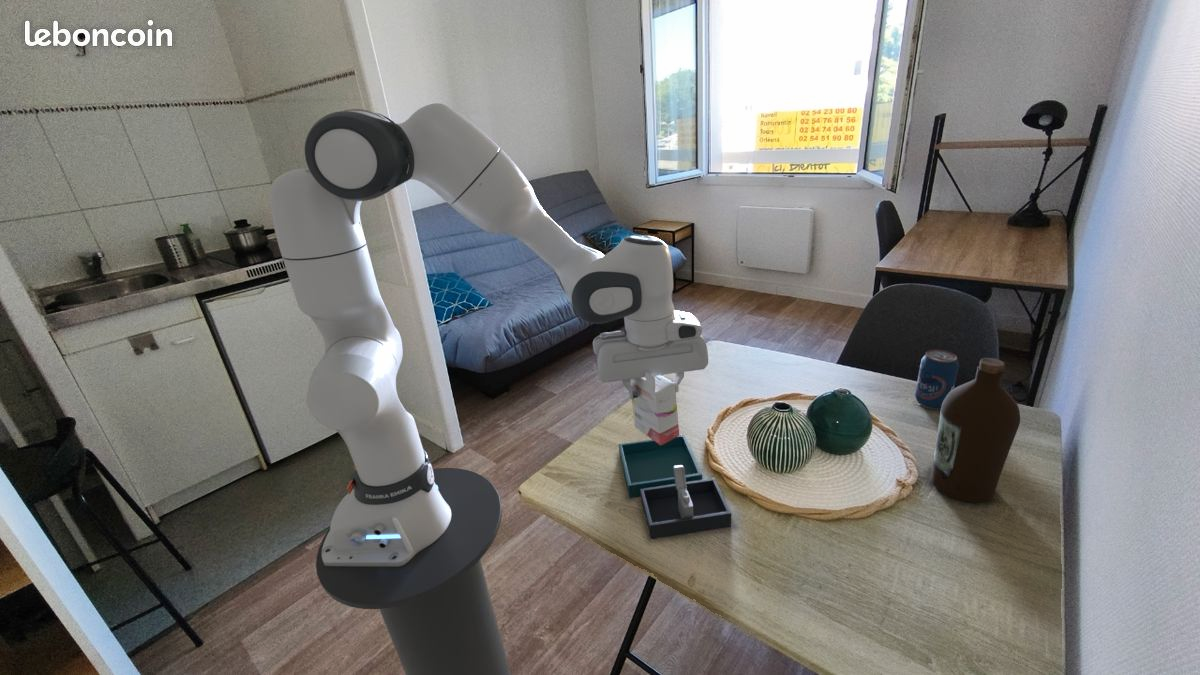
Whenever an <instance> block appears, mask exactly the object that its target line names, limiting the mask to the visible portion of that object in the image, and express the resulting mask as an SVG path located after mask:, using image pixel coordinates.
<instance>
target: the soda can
mask: <svg viewBox="0 0 1200 675" xmlns="http://www.w3.org/2000/svg"><path fill="white" fill-rule="evenodd" d="M959 368H960V363H959V361H958V356H957V355H956V354H955V353H953V352H950V351H948V350H945V349H930V350H927V351H926V352H925V354H924V355H923V357H922V358H921V360H920V365H919V370H918V375H917V379H916V380H917V381H916V386H915V392H914V397H915V399H916V401H917V403H918V404H919V405H920V406H921V407H923V408H927V409H930V410H941V406H942V403H943V401H944V399H945V398H946V396H947V395H948V393H949V392H950V391H952V390H953V389H954V388H955V386H956V380H957V377H958V372H959Z"/></svg>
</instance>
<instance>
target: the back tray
mask: <svg viewBox="0 0 1200 675" xmlns="http://www.w3.org/2000/svg"><path fill="white" fill-rule="evenodd" d="M618 453H619V459H620V463H621V468H622V472H623V477H624V481H625V485H626V486H625V487H626V490H627V495H628V498H629V499H636V498H641V496H640V489H644V488H651V487H658V486H665V485H671V484H675V478H674V470H673V467H674V466H678V465H682V466H683V467H684V470H685V478H686V482H692V481H698V480H703V473H702V471H701V469H700V466H699V465H698V462H697V459H696V458H695V454H694V453H693V451H692V449H691V447H690V444H689V442H688V440H687V437H686V435H685V434H679V436H678V437H676V438H674V439H672V440H670V441H669V442H667V443H665V444H663V445H659V444H658V443H656V442H655V441H654V440H652V439H651V438H649V439H645V440H637V441H630V442H624V443H623V442H622V443H618Z"/></svg>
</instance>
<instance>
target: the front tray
mask: <svg viewBox="0 0 1200 675" xmlns="http://www.w3.org/2000/svg"><path fill="white" fill-rule="evenodd" d="M686 485H687V489H686V490H687V491H688V493H689V496H690V498H691V501H692V504H693V517H688V518H682V519H681V516H680V513H679V510H678V490H677V489H676V485H675V484H671V485H665V486H658V487H651V488H644V489H640V496H641V497H640V504H641V507H642V511H643V516H644V519H645V523H646V527H647V531H648V536H649V539H650V540H655V539H656V540H657V539H663V538H668V537H676V536H682V535H689V534H695V533H700V532H701V533H702V532H707V531H714V530H719V529H727V528H732V511H731V509H730V508H729V505H728V503H727V501H726V499H725V497H724V494H723V492H722V490H721V488H720V485H719V484H718V482H717V480H716V478H715V477H712V478H706V479H702V480H698V481H692V482H686Z"/></svg>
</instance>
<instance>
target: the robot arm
mask: <svg viewBox="0 0 1200 675" xmlns="http://www.w3.org/2000/svg"><path fill="white" fill-rule="evenodd" d="M304 158H305V163H306V165H307V166H306V167H300V168H295V169H291V170H289V171H286V172H284V173H282V174H280V175H279V176H277V177H275V179H274V180H273V181H272V183H271V185H270V187H269V202H270V211H271V218H272V219H271V220H272V223H273V230H274V234H275V238H276V241H277V246H278V249H279V252H280V255H281V258H282V261H283V264H284V267H285V270H286V273H287V276H288V280H289V282H290V284H291V288H292V291H293V294H294V298H295V300H296V303H297V306H298V309H299V310H300V311H301V312H302V313H303V314H305V315H306V316H308V317H309V318H310V319H311V320H312V321H313V323H314V325H315V326H316V328H317V329H318V330H319V332H320V334H321V336H322V338H323V341H324V349H325V350H324V355H323V356H322V358H321V359H320V361H319V362H318V364H317V365H316V366H315V368H314V369H313V371H312V373H311V375H310V379H309V383H308V387H307V392H306V405H307V409H308V411H309V413H310V414H311V416H312V417H313V418H314V420H316V421H317V422H318V423H320V424H321V425H323V426H325V427H327V428H329V429H333V430H336V432H337V433H338V434H339V435H340V437H341V438H342V440H343V441H344V443H345V445H346V447H347V450H348V453H349V455H350V458H351V459H352V462H353V469H354V471H353V472H352V474H351V476H350V478H349V483H348V485H347V487H346V491H348V493H346V495H344V497H343V498H341V501H340V502H339V503H338V505H337V506H336V508H335V510H334V513H333V514H332V518H331V521H330V527H329V528H330V531H329V533H328V535H327V537H326V539H325V541H324V544H323V548H322V560H323V563H324V565H325V566H375V567H399V566H403V565H404V564H406V563H407V562H408V561H409V560H410V559H411V558H412V557H413V556H414V555H415V554H416V553H418V552H419V551H421V550H422V549H424V548H426V547H427V546H429V545H431V544H432V543H433V542H435V541H436V540H437V539H438V538H439V537H440V536H441V535H442V534H443V533H444V532H445V530H446V529H447V527H448V525H449V523H450V521H451V509H450V507H449V505H448V504H447V503H446V502H445V500H444V499H443V498H442V496H441V494H440V492H439V491H438V486H437V485H436V484H435V482H434V473H433V469H434V468H433V466H432V463H431V462H430V461H431V460H430V459H429V458H430V457H429V455H428V453H427V451H426V450H425V449H424V447H423V444H422V441H421V440H422V439H421V437H420V434H419V430H418V427H417V423H416V420H415V418H414V416H413V415H412V414H411V413H409V412H408V411H407V410H406V409H405V407H404V405H403V404H402V402H401V400H400V398H399V395H398V390H397V375H398V372H399V370H400V367H401V364H402V361H403V358H404V348H403V340H402V336H401V334H400V331H399V330H398V329H397V327H396V326H395V324H394V322H393V319H392V318H391V315H390V312H389V311H388V309H387V306H386V305H385V302H384V300H383V298H382V296H381V293H380V289H379V286H378V283H377V278H376V275H375V272H374V267H373V263H372V260H371V255H370V252H369V248H368V244H367V241H366V237H365V233H364V228H363V225H362V220H361V206H362V203H363V202H366V201H371V200H374V199H377V198H380V197H381V196H384V195H386V194H387V193H389V192H391V191H392V190H394V189H395V188H397V187H399V186H401V185H402V184H404V183H406V182H408V181H410V180H414V181H417V182H420V183H422V184H424V185H425V186H427V187H428V188H430V189H431V190H432V191H434V192H435V193H436V194H437V195H438V196H439V197H440V198H442V200H444V201H445V202H446V203H447V204H448V205H449V206H450V207H451V208H453V209H454V210H455V211H456V212H457V213H458V214H460V215H461V216H462V217H463V218H465V219H466V220H468V221H469V222H471V223H472V224H473V225H475V226H477V227H478V228H480V229H481V230H483V231H485V232H487V233H490V234H494V235H495V234H496V235H497V234H498V235H499V234H502V235H506V236H507V235H508V236H511V237H513V238H516V239H517V240H518V241H520V242H522V243H523V244H524V245H525V246H527V247H528V248H529V249H530V250H531V251H532V252H534V254H536V255H537V256H538V257H539V258H540V259H541V260H543V262H545V263H546V264H547V265H548V266H549V267H551V268H552V270H553V272H554V273H555V275H556V278H557V281H558V283H559V284H560V287H561V289H562V290H563V292H564V293H565V295H566V297H567V299H568V300H569V303H570V304H571V306H572V308H573V310H574V312H575V313H576V315H577V316H578V317H579V318H580V319H582V320H583V321H585V322H587V323H588V324H589V323H590V324H595V325H601V324H606V323H610V322H613V321H617V320H620V319H623V321H624V322H623V323H624V329H621V330H613V331H609V332H607V331H604V332H600V333H599V335H597V336H596V337H595V338H593V339H592V340H593V341H592V351H593V354H594V355H595V356H596V372H597V378H598V379H599V380H600V381H601V382H602V383H606V384H607V383H613V382H620V381H622V384H623V385H622V386H624V387H625V388H626V390H627V391H628V396H629V399H630V400H632V399H633V398H638V390H637V387H636V386H631V385H630V383H631V379H636V378H643V377H645V372H647V373H649V374H650V375H652V376H658V375H661V376H664V375H673V374H674V377H673V378H672V380H671V381H672V382H674V383H675V388H676V393H679V392H680V391H679V390H680V388H679V385H680V384H681V382H682V380H683V379H684V377H685V373H686V372H694V371H701V370H705V369H706V368H707V367H708V365H709V352H708V345H707V341H706V339H705V338H704V337H703V335H702V334H703V328H702V325H701V323H700V321H699V320H698V318H697V317H696V316H695V315H693V314H692V313H691V312H685V311H680V310H675V306H674V303H673V299H672V298H673V291H674V273H673V271H674V270H673V262H672V256H671V250H670V249H669V245H667V243H665V241H663V240H661V239H659V238H658V237H656V236H651V235H647V234H630V235H626V236H624V237H622V239H621V240H620V242H619V243H618V244H617V245H616V246H615V247H614V248H612V250H610V251H609V252H607V253H605V254H604V253H602V252H601V251H599V250H597V249H594V248H592V247H590V246H586V245H584V244H581V243H579V242H578V241H577V240H575V239H574V238H572V237H571V236H570V235H569V234H568V233H567V232H566V231H565V230H564V229H563V228H562V227H561V226H560V225H559V224H558V223H557V222H556V221H554V219H553V218H551V216H550V215H549V214H547V212H546V211H545V210H544V209H543V207H542V205H541V204H540V202H539V200H538V199H537V196H536V194H535V191H534V188H533V187H532V185H531V183H530V182H529V181H528V179H527V178H526V176H525V175H524V173H523V172H522V170H521V169H520V168H519V167H518V165H517V164H516V163H515V162H514V160H512V159H511V157H510V156H509V155H508V154H507V153H506V152H505V151H504V150H503V149H502V148H501V146H499V145H498V144H497V143H496V142H494V140H492V138H490V137H489V136H488V135H487V134H486V133H485V132H484V131H483V130H481V129H480V128H479V127H478V126H476V125H475V124H474V123H472V122H471V120H469V119H468V118H466V117H465V116H464V115H462V114H461V113H459V112H458V111H456V110H455V109H453V108H451V107H450V106H449V105H447V104H443V103H438V102H437V103H436V102H435V103H434V102H433V103H430V104H426V105H424V106H422V107H420V108H418V109H417V110H415V111H414V112H413V113H412V114H411V115H410V116H409V117H408V118H407V119H406V120H405V121H403V122H401V123H396V122H394V121H393V120H391V119H390V118H389V117H387V116H385V115H383V114H381V113H378V112H374V111H371V110H367V109H362V108H350V109H345V110H341V111H334V112H330V113H328V114H325V115H324V116H322V117H321V118H320V119H318V120H317V121H316V122H314V124H312V126H311V128H310V129H309V130H308V133H307V135H306V137H305V142H304Z"/></svg>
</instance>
